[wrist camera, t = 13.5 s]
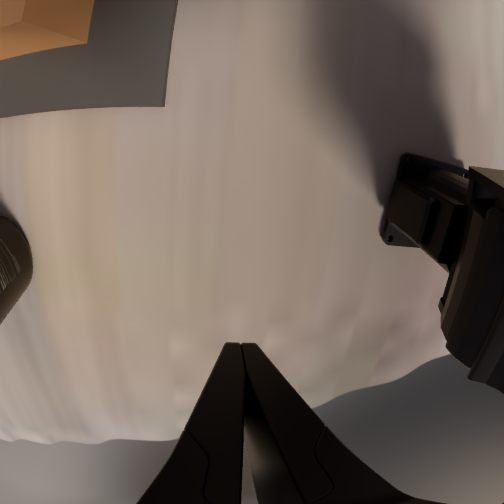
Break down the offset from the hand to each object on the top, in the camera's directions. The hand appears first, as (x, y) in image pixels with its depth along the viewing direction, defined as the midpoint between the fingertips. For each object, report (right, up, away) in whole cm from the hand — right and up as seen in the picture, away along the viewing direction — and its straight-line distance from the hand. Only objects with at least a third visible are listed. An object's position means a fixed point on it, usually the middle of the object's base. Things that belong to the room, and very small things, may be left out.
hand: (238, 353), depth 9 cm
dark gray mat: (-12, +18, +3) cm, 21 cm away
